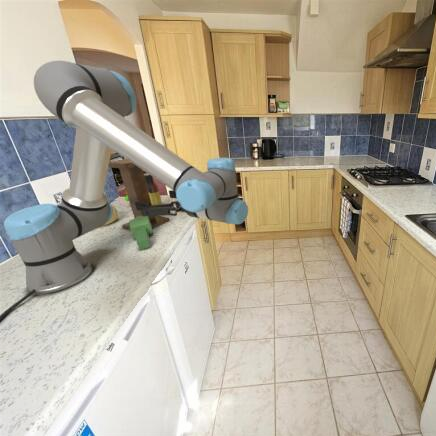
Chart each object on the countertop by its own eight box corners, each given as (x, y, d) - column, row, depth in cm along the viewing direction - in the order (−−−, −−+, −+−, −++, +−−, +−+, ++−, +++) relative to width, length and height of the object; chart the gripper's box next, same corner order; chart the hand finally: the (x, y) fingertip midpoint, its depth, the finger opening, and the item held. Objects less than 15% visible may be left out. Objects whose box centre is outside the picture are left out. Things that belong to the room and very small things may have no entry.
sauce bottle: (152, 208, 135) (142, 173, 127) (164, 206, 137) (155, 172, 129) (149, 212, 129) (139, 175, 122) (162, 210, 131) (153, 174, 123)
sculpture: (83, 227, 113) (75, 206, 109) (106, 217, 124) (98, 197, 120) (104, 228, 111) (96, 207, 107) (125, 218, 122) (118, 198, 118)
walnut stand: (144, 232, 107) (123, 164, 95) (122, 227, 112) (100, 162, 100) (169, 220, 119) (154, 158, 107) (149, 216, 124) (132, 157, 112)
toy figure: (135, 251, 92) (130, 241, 90) (133, 226, 109) (129, 216, 107) (155, 245, 95) (150, 234, 93) (150, 221, 112) (147, 212, 110)
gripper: (174, 233, 69) (123, 223, 76) (227, 205, 90) (183, 198, 97) (168, 209, 66) (116, 200, 73) (224, 185, 87) (179, 180, 94)
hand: (154, 199), depth 85 cm, fingers open, 13 cm apart
